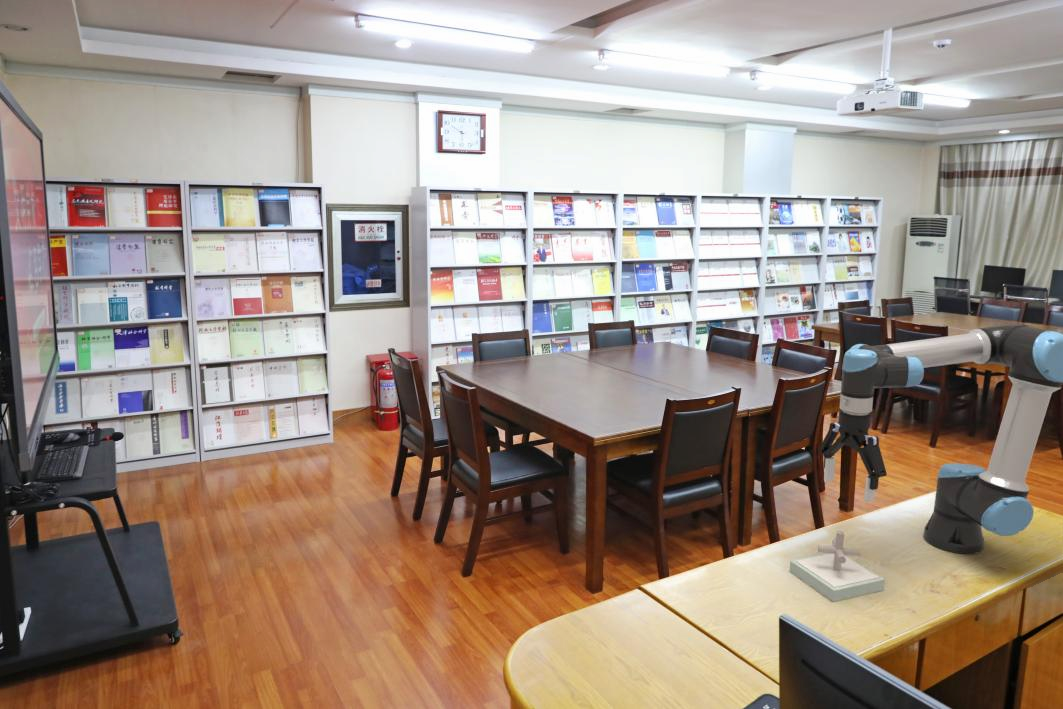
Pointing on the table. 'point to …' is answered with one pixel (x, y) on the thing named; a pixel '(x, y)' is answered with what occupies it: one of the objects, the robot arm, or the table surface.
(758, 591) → the table surface
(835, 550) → the pipe connector
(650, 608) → the table surface
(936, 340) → the robot arm
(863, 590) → the stand
